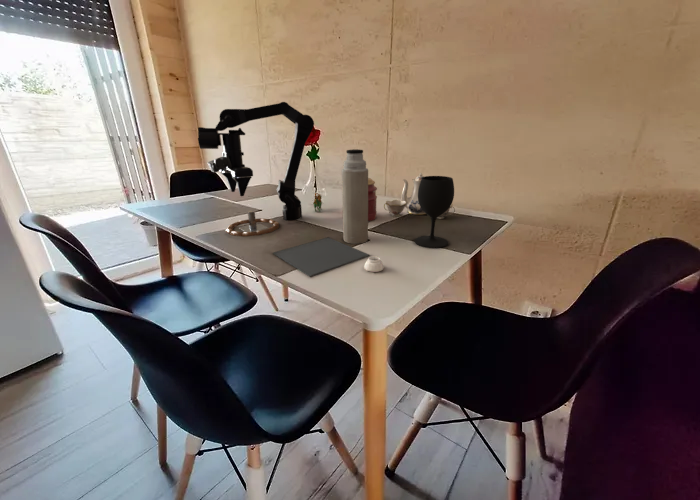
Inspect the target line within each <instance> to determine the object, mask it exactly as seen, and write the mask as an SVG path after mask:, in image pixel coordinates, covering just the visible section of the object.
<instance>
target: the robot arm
mask: <svg viewBox="0 0 700 500" xmlns="http://www.w3.org/2000/svg"><path fill="white" fill-rule="evenodd" d="M276 116H283V117H285V118H286V119H287V120H289V121H290V122H292V123H293V124H294V140H293V143H292V144H293V145H292V148H291V152H290V155H289V160H288V164H287V166H286V167H287V168H286V171H285V175H284V177H283V179H282V180H281V179H278V185H277V188H276V189H275V190H276V192H277V196H278V199H279V200H280V201H281V202H282V203H283V204H284V205H282V210H281V211H282V219H283V221H286V222H289V221H298V220H300V219H302V218H303V212H302V211H303V210H302V209H303V208H302V202H301V200H300V198H299V197H298V196H297V195H296V180H297V175H298V171H299V168H300V165H301V160H302V156H303V154H304V150H305V146H306V143H307V141H308V139H309V138H310V136H311V134H312V131H313V129H314V127H315V121H314V119H313V117H312V116H310V115H309V114H303V113H301V111H299V110H298V109H296V108H294V107H292V106H291V105H290V104H289V102H286V101H281V102H278V103H273V104H267V105H262V106H257V107H252V108H251V107H250V108H224V109H222V110H221V112H220V114H219V121H218V123H217V124H216V125H215V127H201V126H198V127H197V131H198V132H197V143H198V146H199V149H200V150H218V149H219V147H221V146H222V145H223V151H222V152H221V156H220V157H217V158H214V159H212V160H209V161H208V162H207V165H208V167H209V169H210V171H211V172H212V173H218V172H220V174H221V175H222V176H224V177H225V179H226V181H227V184H228V187H229V189H230V191H231V192H232V193H235V192H236V188H237V190H238V193H239V196H240V197H244V196H245V194H246V191H247V189H248V186H249V183H250V181H251V179H252V177H254V171H253V169H252V168H250V167H249V166H246V165H245V164H244V163H243V162H244V161H243V156H244V155H245V154H244V151H242V143H241V142H242V141H241V136H246V132H244V131H243V130H242V128H241V127H239V128H238V129H233V128H236V127H238V126H241V125H243V124H245V123H248V122H251V121H255V120H261V119H265V118H272V117H276ZM227 129H228V132H223V131H225V130H227Z"/></svg>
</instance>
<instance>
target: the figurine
mask: <svg viewBox="0 0 700 500" xmlns="http://www.w3.org/2000/svg"><path fill="white" fill-rule="evenodd" d="M313 197H314V201H313V203H312V204H313V208H314V212H317V211H322V210H323V209H322V205H323V202H322V198H323V197H322V194H321V193H318V192H315V193H314V196H313Z"/></svg>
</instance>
